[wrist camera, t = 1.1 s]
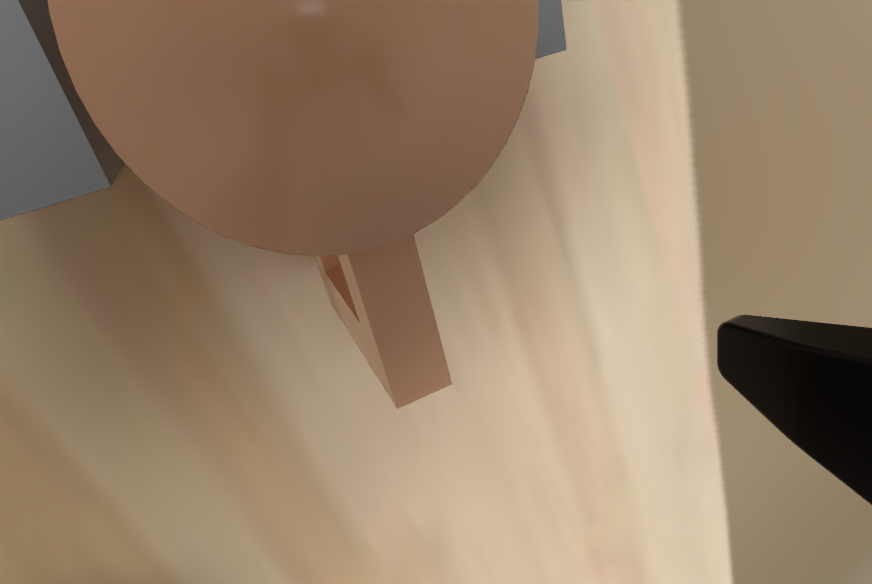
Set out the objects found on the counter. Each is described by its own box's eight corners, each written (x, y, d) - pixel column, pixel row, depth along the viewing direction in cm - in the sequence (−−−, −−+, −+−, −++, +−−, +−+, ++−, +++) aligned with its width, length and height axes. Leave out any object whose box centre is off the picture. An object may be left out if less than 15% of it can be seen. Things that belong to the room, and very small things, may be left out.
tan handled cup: (230, 303, 18) (274, 495, 10) (63, -75, 13) (-96, -260, 5) (420, 232, 19) (583, 351, 12) (330, -125, 15) (500, -322, 7)
